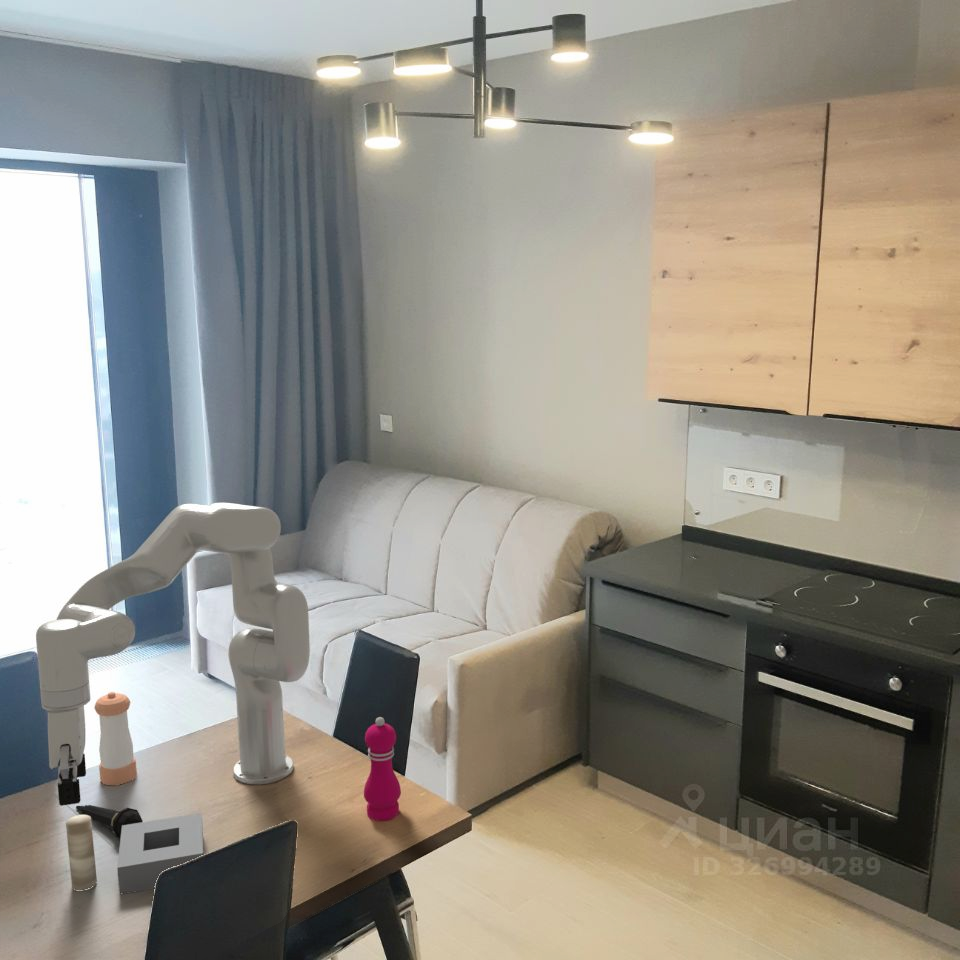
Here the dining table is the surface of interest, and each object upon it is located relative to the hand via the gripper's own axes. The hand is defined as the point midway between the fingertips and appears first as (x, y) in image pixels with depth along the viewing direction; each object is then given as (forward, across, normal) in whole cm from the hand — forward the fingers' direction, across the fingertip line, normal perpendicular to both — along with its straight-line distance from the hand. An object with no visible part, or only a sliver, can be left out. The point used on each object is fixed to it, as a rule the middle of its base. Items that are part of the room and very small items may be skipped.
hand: (73, 789), depth 162 cm
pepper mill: (+17, -8, +54) cm, 58 cm away
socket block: (+18, -2, +14) cm, 22 cm away
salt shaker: (+18, -39, +4) cm, 43 cm away
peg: (+18, 0, 0) cm, 18 cm away
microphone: (+18, -20, +3) cm, 28 cm away
